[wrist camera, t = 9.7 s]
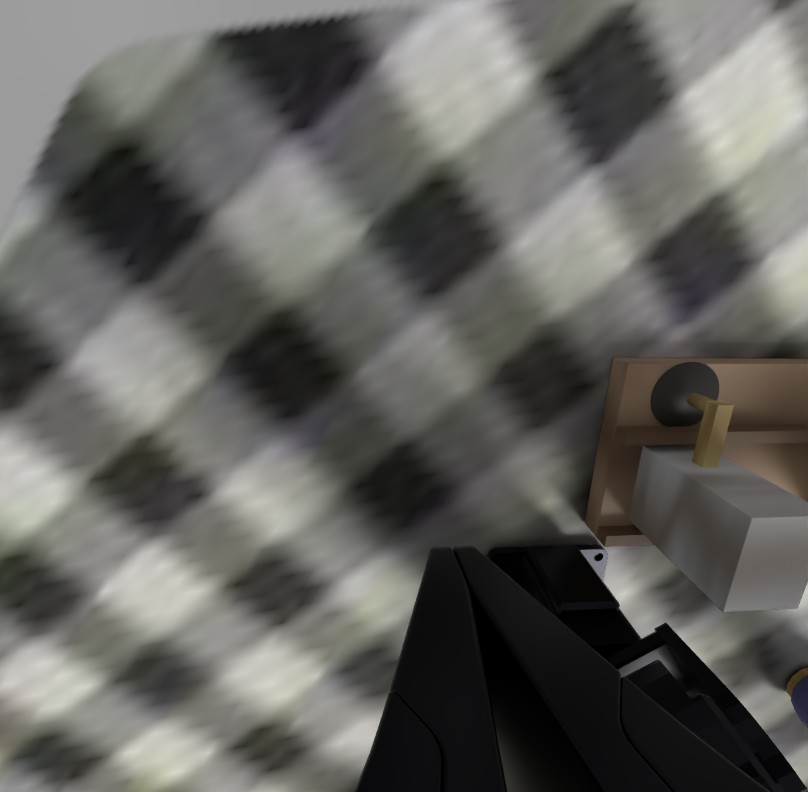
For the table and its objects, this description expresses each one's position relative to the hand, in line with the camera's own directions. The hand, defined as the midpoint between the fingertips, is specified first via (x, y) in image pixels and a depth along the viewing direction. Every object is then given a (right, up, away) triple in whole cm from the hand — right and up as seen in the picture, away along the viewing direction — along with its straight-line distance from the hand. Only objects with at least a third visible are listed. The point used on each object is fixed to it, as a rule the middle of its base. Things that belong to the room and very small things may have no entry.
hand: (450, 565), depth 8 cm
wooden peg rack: (+19, +1, +14) cm, 24 cm away
